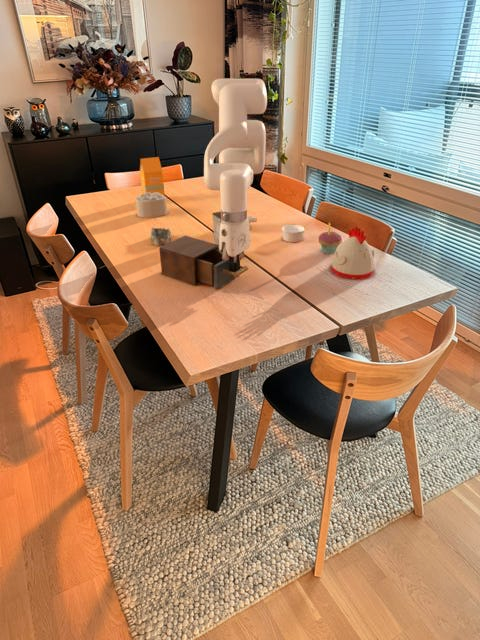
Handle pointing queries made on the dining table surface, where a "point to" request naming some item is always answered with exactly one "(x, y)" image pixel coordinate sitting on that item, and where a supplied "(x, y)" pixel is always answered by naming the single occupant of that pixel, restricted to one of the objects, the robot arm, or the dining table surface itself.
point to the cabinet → (183, 258)
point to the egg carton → (160, 236)
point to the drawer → (215, 269)
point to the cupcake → (329, 241)
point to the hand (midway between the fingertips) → (234, 272)
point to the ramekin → (292, 233)
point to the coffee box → (218, 228)
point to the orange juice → (151, 175)
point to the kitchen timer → (353, 257)
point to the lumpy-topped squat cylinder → (151, 205)
